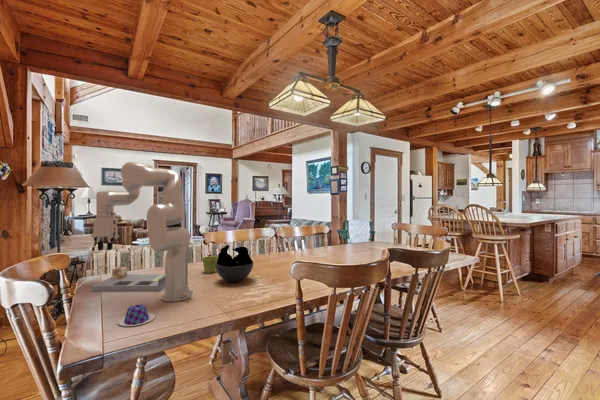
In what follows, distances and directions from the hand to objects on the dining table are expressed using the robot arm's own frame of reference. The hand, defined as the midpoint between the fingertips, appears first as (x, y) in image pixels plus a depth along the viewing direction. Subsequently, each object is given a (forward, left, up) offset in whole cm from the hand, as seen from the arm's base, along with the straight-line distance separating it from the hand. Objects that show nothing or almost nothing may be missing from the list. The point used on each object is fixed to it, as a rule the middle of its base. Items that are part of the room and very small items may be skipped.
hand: (105, 249), depth 155 cm
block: (-7, -4, -15) cm, 17 cm away
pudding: (-58, +23, -18) cm, 65 cm away
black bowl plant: (-58, -33, -17) cm, 69 cm away
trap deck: (-18, -5, -17) cm, 26 cm away
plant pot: (-33, -41, -18) cm, 56 cm away
